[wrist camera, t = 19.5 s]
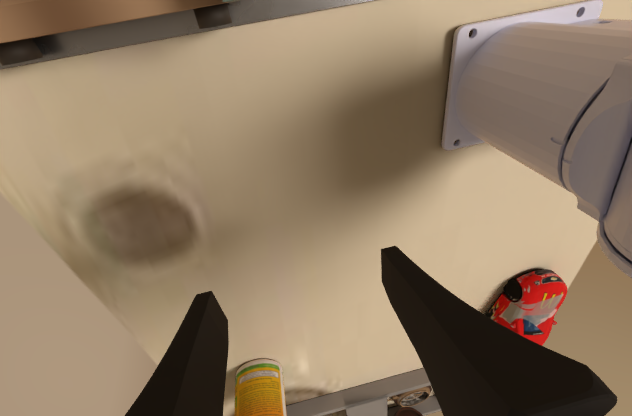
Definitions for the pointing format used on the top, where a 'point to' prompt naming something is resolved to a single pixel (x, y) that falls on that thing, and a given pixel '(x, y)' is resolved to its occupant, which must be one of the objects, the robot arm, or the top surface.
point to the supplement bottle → (260, 389)
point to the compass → (411, 401)
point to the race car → (530, 304)
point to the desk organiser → (369, 398)
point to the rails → (167, 27)
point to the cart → (87, 19)
